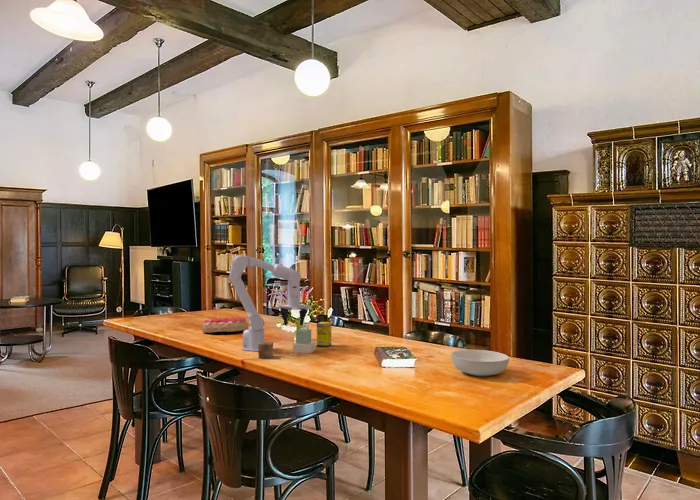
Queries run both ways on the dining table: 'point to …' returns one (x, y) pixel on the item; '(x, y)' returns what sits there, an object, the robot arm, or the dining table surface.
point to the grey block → (304, 348)
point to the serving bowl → (479, 362)
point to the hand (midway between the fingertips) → (293, 325)
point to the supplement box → (323, 334)
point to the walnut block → (265, 350)
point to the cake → (225, 325)
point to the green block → (303, 336)
